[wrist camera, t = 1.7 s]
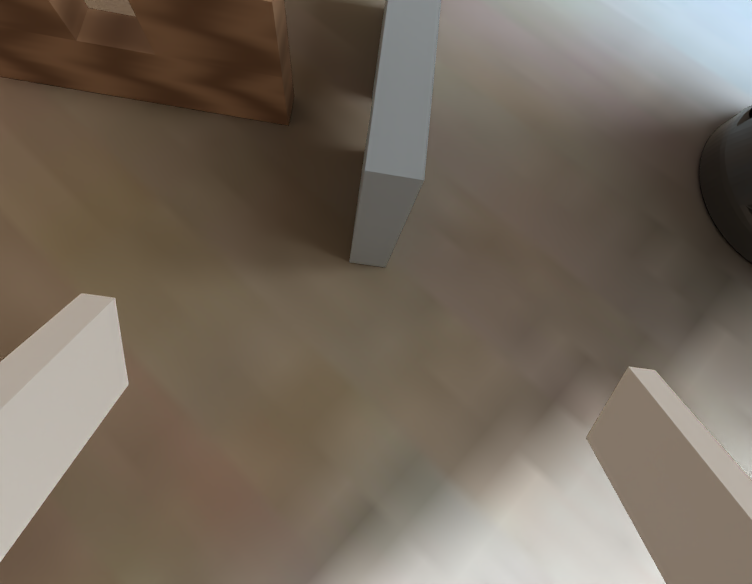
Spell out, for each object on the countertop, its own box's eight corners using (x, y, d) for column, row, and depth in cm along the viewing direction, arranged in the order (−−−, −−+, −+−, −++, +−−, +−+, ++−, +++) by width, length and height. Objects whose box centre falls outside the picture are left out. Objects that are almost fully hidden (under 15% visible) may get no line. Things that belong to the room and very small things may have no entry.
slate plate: (414, 15, 35) (457, -175, 24) (385, 267, 29) (424, 180, 18) (384, 9, 35) (413, -186, 23) (349, 262, 29) (364, 170, 18)
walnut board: (294, 96, 32) (280, -36, 22) (288, 125, 31) (272, 2, 22) (11, 47, 30) (-136, -119, 21) (-1, 76, 30) (-159, -81, 20)
